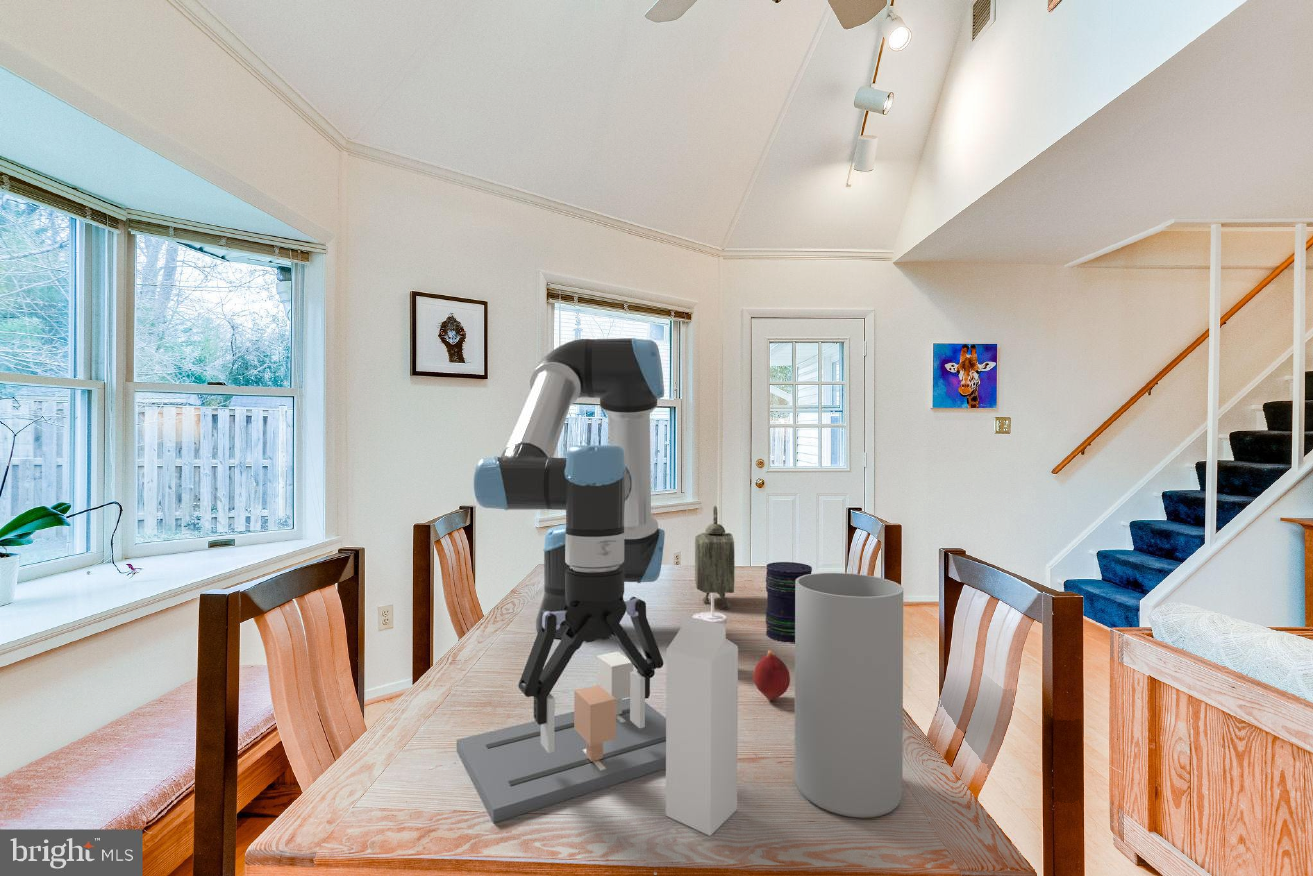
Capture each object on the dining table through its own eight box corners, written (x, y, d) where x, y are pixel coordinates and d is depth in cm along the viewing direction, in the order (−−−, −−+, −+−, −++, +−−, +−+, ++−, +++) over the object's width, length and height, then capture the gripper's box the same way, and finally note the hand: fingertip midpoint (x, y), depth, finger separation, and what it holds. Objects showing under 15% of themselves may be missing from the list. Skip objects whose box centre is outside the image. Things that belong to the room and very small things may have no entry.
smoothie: (725, 676, 109) (725, 598, 109) (689, 673, 110) (689, 596, 110) (728, 663, 115) (728, 589, 115) (694, 661, 117) (694, 587, 117)
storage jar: (760, 639, 129) (761, 569, 129) (770, 626, 139) (770, 560, 139) (808, 645, 126) (809, 573, 126) (815, 631, 135) (815, 564, 135)
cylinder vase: (846, 834, 66) (847, 602, 66) (773, 776, 77) (774, 578, 77) (925, 802, 72) (926, 589, 72) (847, 753, 83) (848, 569, 83)
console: (456, 750, 83) (456, 738, 83) (637, 705, 97) (637, 695, 97) (493, 823, 67) (493, 808, 67) (702, 756, 82) (702, 744, 82)
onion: (791, 695, 101) (791, 647, 101) (787, 710, 96) (787, 659, 96) (756, 690, 103) (756, 643, 103) (750, 704, 98) (750, 654, 98)
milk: (694, 792, 74) (695, 609, 74) (738, 810, 70) (739, 618, 70) (664, 817, 69) (665, 620, 69) (710, 838, 65) (711, 631, 65)
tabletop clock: (734, 611, 150) (734, 509, 150) (697, 611, 150) (697, 509, 150) (728, 596, 165) (728, 503, 165) (694, 595, 165) (695, 503, 165)
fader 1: (574, 752, 79) (574, 690, 79) (598, 745, 81) (598, 684, 81) (590, 770, 75) (590, 705, 75) (615, 762, 77) (615, 699, 77)
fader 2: (596, 708, 92) (596, 655, 92) (617, 703, 94) (617, 651, 94) (611, 722, 88) (611, 666, 88) (632, 716, 89) (633, 662, 89)
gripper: (511, 582, 69) (510, 775, 69) (690, 561, 81) (689, 724, 81) (492, 570, 75) (491, 746, 75) (660, 552, 87) (660, 703, 87)
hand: (594, 735), depth 78 cm, fingers open, 12 cm apart
